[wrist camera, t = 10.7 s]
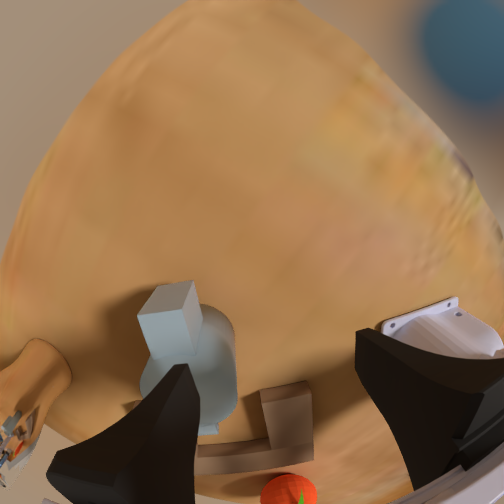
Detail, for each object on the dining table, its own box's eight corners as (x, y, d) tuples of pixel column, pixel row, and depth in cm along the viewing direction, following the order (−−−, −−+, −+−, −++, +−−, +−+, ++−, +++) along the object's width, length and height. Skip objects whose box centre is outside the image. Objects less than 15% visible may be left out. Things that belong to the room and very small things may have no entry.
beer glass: (64, 399, 21) (9, 495, 7) (19, 357, 20) (-53, 437, 5) (85, 370, 21) (14, 487, 6) (33, 321, 19) (-63, 410, 5)
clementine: (265, 461, 25) (273, 509, 18) (321, 458, 26) (335, 502, 19) (253, 488, 26) (257, 529, 20) (301, 486, 27) (311, 524, 20)
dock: (306, 380, 22) (311, 393, 20) (310, 448, 25) (313, 460, 23) (135, 400, 22) (130, 412, 20) (174, 463, 24) (172, 475, 22)
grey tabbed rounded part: (242, 368, 21) (248, 430, 15) (178, 376, 21) (164, 436, 14) (220, 265, 19) (214, 305, 12) (145, 278, 19) (108, 320, 12)
